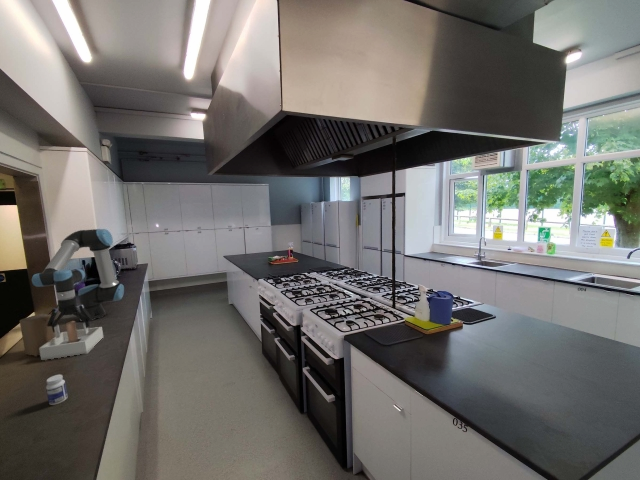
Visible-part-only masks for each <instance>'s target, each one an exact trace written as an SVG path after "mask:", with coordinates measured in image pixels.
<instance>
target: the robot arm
mask: <svg viewBox="0 0 640 480" xmlns="http://www.w3.org/2000/svg"><path fill="white" fill-rule="evenodd" d="M113 242H114V240H113V235H112V233H111V232H110V231H109V230H108V229H106V228H97V229H96V228H94V229H93V228H92V229H80V230H76V231H74V232H72V233H71V234H69V235H68V236H66V237H65V238H64V239H63V240H62V242H60V248H59V249H58V250H57V251H56V253H55V254H54V256H53V257H52V259H50V261H49V262H48V264H47V265H46V267H45V268H44V270H43V271H42V272H39V273H35V274H33V276H32V278H31V283H32V285H33V286H35V287H37V288H38V287H52V286H54V287H55V293H56V299H57V305H58V307H54V308H52V309H51V314H50V315H51V317H50V319H49V322H48V324H47V326H51V327H52V329H53V332H55V337H56V338H59V337H60V333H61V332H60V326H59V324H58V323H59V322H60V321H61V320H62V318H64V316H71V315H74V316H76V317H77V318H78V320H79V319H81V320H82V321H84V322H82V321H81V322H82V327H83V329H84V333H85V334H87V333H88V332H89V331H88V329H89V328H90V322H91V321H90V320H92V319H94V318H99V317H102V316H104V315H105V314H106V310H105V309H104V307H103V305H102V303H110V302H117V301H120V300H122V298H124V297H123V296H124V294H125V286H124V285H123V284H122V283H120V281H119V280H117V278H116V274H115V271H114V266H113V263H112V257H111V255H110V254H111V253H110V248H111V247H112V245H113ZM82 248H89V251H90V252H92V253H93V256H94V260H95V263H96V269H97V272H98V276H99V280H100V284H98V283H97V284H89V285H87V286H84V287H81V288H80V289H78V291H77V293H78V301H79V305H78V304H77V298H76V292H75V291H76V290H75V284H77V283H80V282H82V281H83V280H84V279H85V277H86V273H85V271H84V270H83V269H81V268H74V269H65V268H66V267H67V264H68V263H69V261H70V260H71V259H72V258H73V256H74V254H75V253H77V252H78V251H79V250H80V249H82ZM58 312H59V313H60V314H59V315H58V317H56V316H57V314H58ZM105 316H106V315H105ZM105 316H104V317H105ZM102 318H103V317H102ZM99 319H100V318H99ZM92 321H93V320H92Z"/></svg>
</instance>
